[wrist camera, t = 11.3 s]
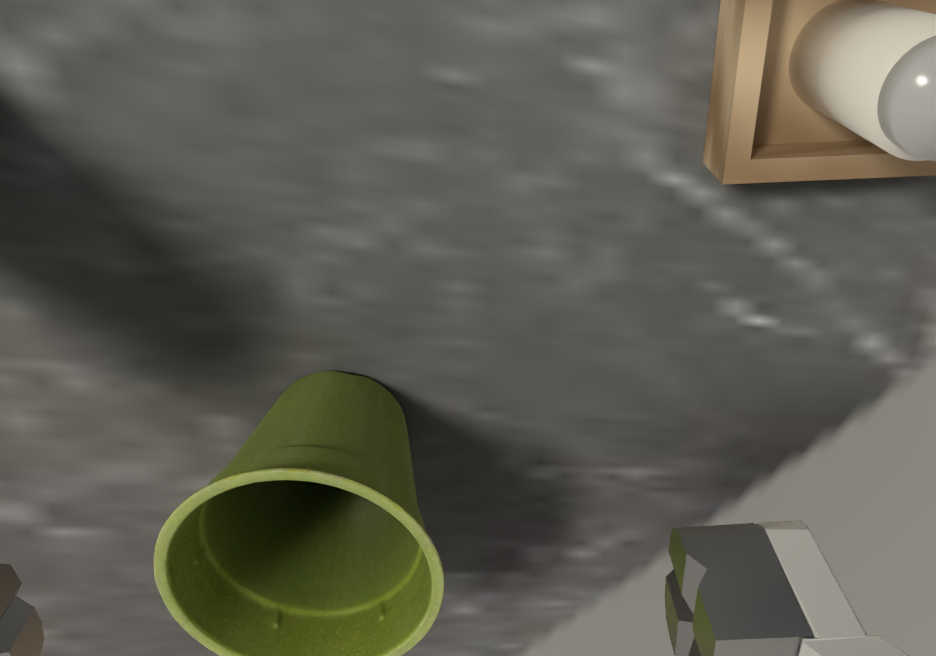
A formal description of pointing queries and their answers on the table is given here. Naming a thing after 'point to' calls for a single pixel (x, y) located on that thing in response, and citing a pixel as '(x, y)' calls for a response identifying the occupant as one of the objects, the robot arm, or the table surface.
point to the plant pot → (307, 534)
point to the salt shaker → (872, 73)
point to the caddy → (782, 105)
